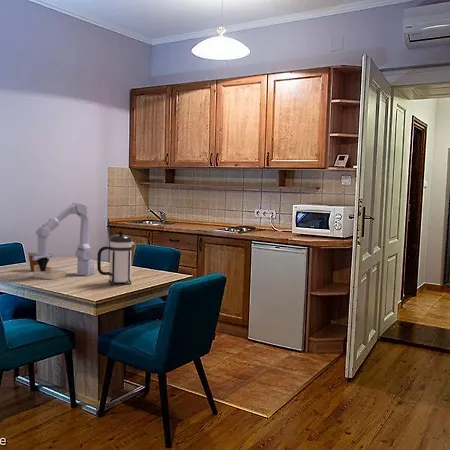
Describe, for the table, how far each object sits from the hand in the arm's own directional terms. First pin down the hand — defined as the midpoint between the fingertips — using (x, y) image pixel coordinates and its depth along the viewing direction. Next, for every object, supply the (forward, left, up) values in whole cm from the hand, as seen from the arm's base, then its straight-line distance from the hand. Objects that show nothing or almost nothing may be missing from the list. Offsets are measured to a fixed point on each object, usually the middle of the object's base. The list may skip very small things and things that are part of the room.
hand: (42, 271), depth 280 cm
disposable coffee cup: (+20, -18, -5) cm, 27 cm away
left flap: (0, -1, +1) cm, 1 cm away
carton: (0, -6, -4) cm, 7 cm away
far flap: (+7, -6, +1) cm, 9 cm away
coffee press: (-44, -9, -5) cm, 45 cm away
